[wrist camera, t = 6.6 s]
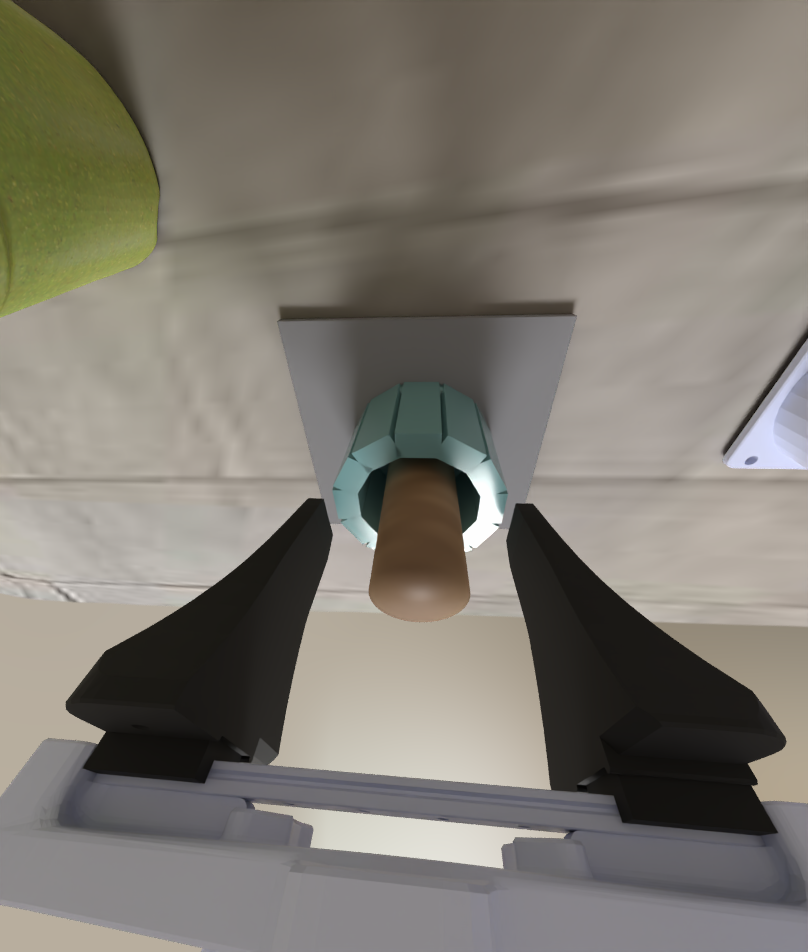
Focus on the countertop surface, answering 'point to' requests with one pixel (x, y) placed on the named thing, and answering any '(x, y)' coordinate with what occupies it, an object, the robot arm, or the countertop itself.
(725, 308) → the countertop surface
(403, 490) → the walnut peg
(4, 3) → the plant pot
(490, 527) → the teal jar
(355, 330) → the grey mat
